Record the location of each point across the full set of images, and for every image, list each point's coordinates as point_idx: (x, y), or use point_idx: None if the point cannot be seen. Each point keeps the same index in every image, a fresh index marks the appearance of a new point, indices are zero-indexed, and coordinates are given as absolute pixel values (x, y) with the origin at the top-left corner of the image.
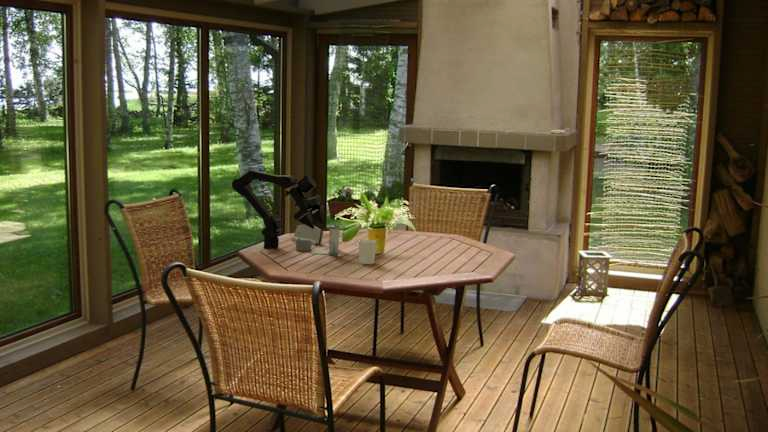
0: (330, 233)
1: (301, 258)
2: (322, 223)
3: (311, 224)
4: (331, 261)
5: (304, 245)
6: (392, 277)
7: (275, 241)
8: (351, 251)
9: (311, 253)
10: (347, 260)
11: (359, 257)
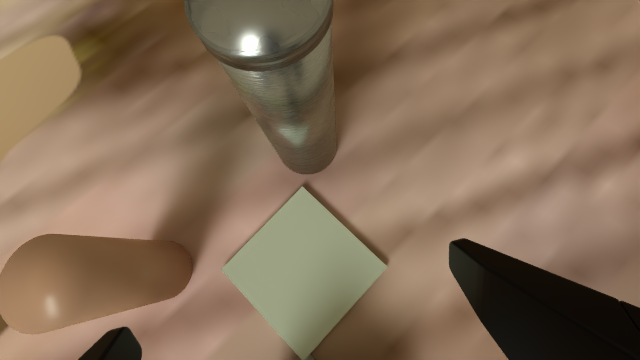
0: (332, 64)
1: (540, 207)
2: (130, 353)
3: (538, 271)
4: (433, 48)
5: None
6: None
7: None
8: (124, 166)
9: (382, 271)
10: (340, 20)
11: None
